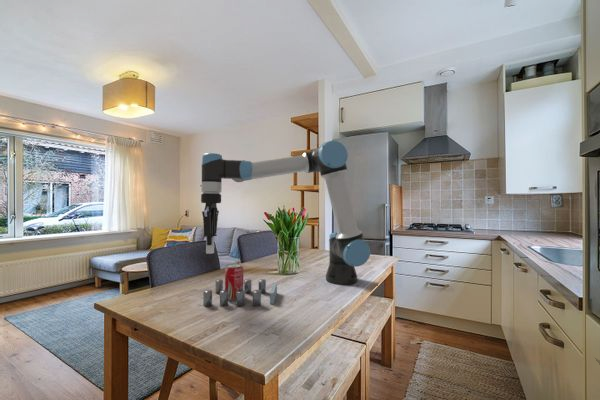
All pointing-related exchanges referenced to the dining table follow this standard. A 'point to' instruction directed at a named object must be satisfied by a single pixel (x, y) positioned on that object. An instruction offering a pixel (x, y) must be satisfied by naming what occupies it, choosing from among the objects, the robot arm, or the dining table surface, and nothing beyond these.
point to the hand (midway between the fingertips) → (210, 253)
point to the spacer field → (239, 294)
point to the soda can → (233, 280)
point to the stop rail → (273, 293)
